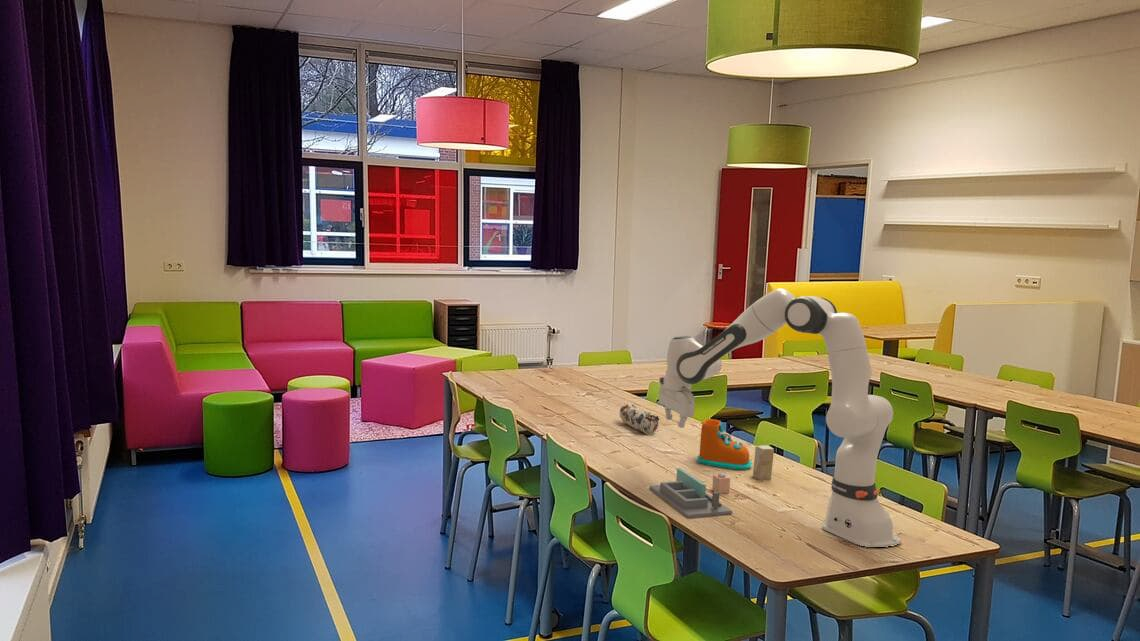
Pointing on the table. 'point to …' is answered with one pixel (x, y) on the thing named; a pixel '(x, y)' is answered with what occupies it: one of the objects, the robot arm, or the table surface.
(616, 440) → the table surface
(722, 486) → the peach button block
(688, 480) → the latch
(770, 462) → the box
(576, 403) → the table surface
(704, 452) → the toy shoe
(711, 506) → the housing
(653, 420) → the pencil case
